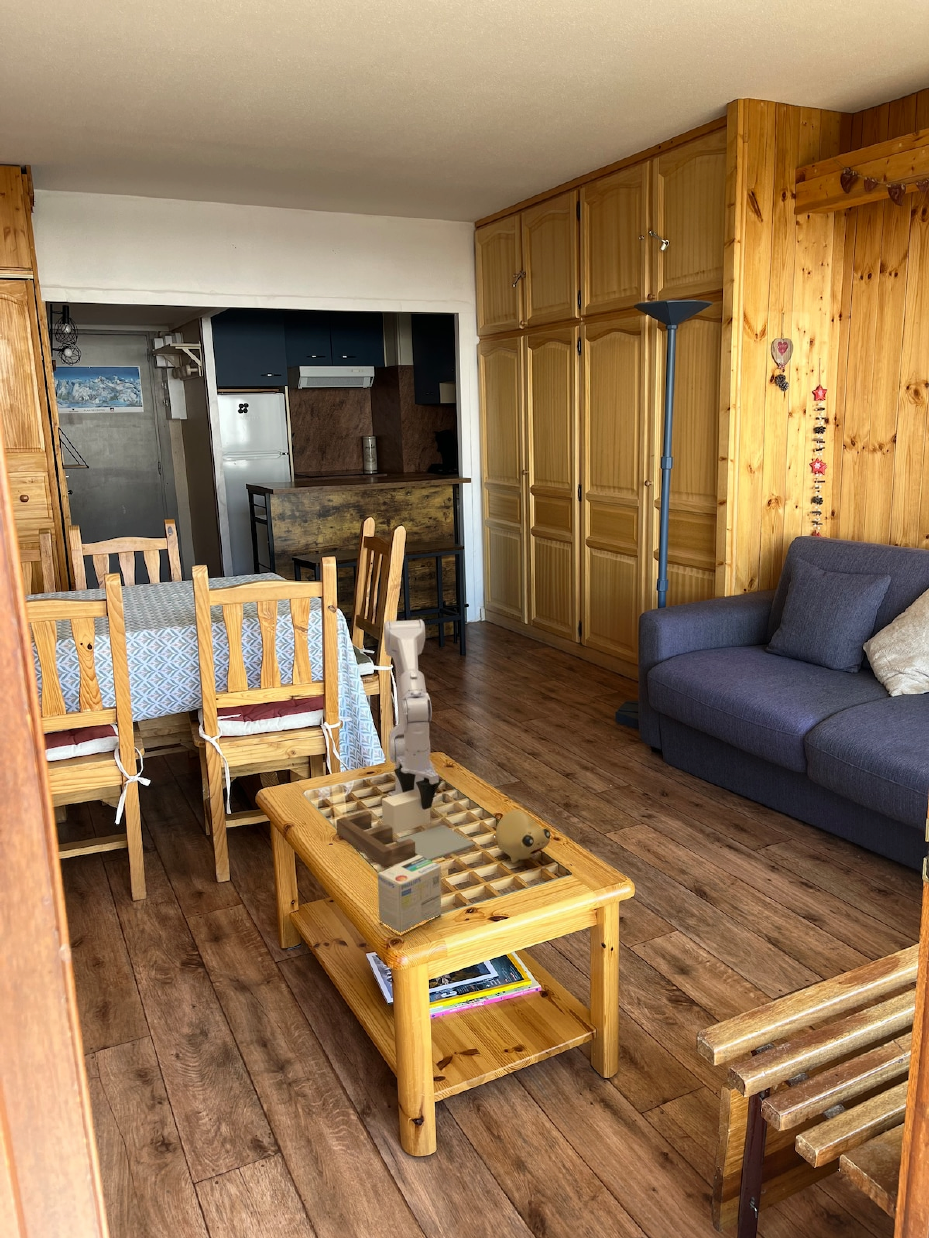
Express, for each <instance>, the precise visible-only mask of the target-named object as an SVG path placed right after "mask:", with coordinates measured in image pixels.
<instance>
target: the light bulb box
mask: <svg viewBox="0 0 929 1238" xmlns="http://www.w3.org/2000/svg"><path fill="white" fill-rule="evenodd" d="M441 873H442V865H440V864H439V863H436V862H434V861H433V860H432V861H430V860H428V859H426V858H424V857H422V856H420V855H417V856H416V855H415V856H414V857H412V858H410V859H408V860H405V861H402V862H399V863H397V864H394V866H393V865H392V866H391V867H388V868H387V869H385V870H382V871H380V872H377V889H378V890H377V892H378V893H377V894H378V897H377V898H378V918H379V919H378V921H379V920H380V921H382V923H384V924H386V925H388V926H389V927H391V928H392V929H394V930H396V931H398V932H400V933H401V932H403V931H406V930H408V929H410V928H411V927H414V926H415V925H416V924H419V923H421V922H422V921H424V920H429V919H431V918H433V917H436V916H438V915H441V916H442V874H441Z"/></svg>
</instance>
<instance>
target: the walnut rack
mask: <svg viewBox="0 0 929 1238" xmlns="http://www.w3.org/2000/svg"><path fill="white" fill-rule="evenodd" d="M372 825H373V823H372V813H371V812H370V811H368V810H364V811H360V812H357V813H353V814H351V815H347V816H343V817H340V818H337V819H336V835H338V836H339V835H340V837H341V838H342V839H343V838H344V839H343V840H345V841H346V842H347V843H349V844H350V845H352V846H353V847H355V848H356V849H357V850H359V851H360V852H362V853H363V854H364V855H365V856H367V857H369V858H370V859H371V860H373V861H374V862H375V863H377V864H378V865H380V866H381V867H382V868H387V867H390V866H393V865H397V864H400V863H402V862H404V861H406V860H408V859H410V858H412V857H414V856H416V855H415V842H414V841H413V840H411V839H407V840H404V841H401V842H398V843H397V842H395V843H393V841H394V837H393V835H394V834H393V827H391V826H390V825H388V824H386V825H381V826H377V827H374V828H372ZM390 843H392V844H390ZM387 844H390V845H387Z"/></svg>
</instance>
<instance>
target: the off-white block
mask: <svg viewBox="0 0 929 1238" xmlns="http://www.w3.org/2000/svg"><path fill="white" fill-rule="evenodd" d="M381 806H382V807H381V811H382V812H381V817H382V825H381V826H383V825H386V824H388V825H390V826H391V827H393V835H397V834H400V833H403V832H406V831H409V830H412V829H415V828H418V827H422V826H425V825H428V824H431V808H428V809H425V810H424V809H422V805H421V796H420V791H419V789H418V788H417V789H414V790H411V791H407V792H404V793H400V794H397V795H393V796H391V795H389V796H386V797H383V798H382V799H381Z"/></svg>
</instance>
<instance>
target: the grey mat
mask: <svg viewBox="0 0 929 1238" xmlns="http://www.w3.org/2000/svg"><path fill="white" fill-rule="evenodd" d="M407 839H411V840H413V841H414V842H415V856H417V855H420V856H422V857H424V858H426V859H428V860H430V861H432V862H433V861H435V860H437V859H439V858H443V857H447V856H449V855H452V854H455V853H457V852H460V851H463V850H464V851H465V850H467V849H469V848H472V847H474V846H476V844H475V842H473V841H471V840H470V839H469V838H466V837H465V836H463V835H461V834H459V833H458V832H457V831H455V830H453V829H452V828H450V827H448V826H447V825H444V824H441V825H437V826H435V827H432V828H429V829H426V830H422V831H419V832H415V833H413V834H411V835H410V834H409V835H406V836H404V837H403V836H402V837H400V838H398V839H395V843H398V842H401V841H404V840H407Z"/></svg>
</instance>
